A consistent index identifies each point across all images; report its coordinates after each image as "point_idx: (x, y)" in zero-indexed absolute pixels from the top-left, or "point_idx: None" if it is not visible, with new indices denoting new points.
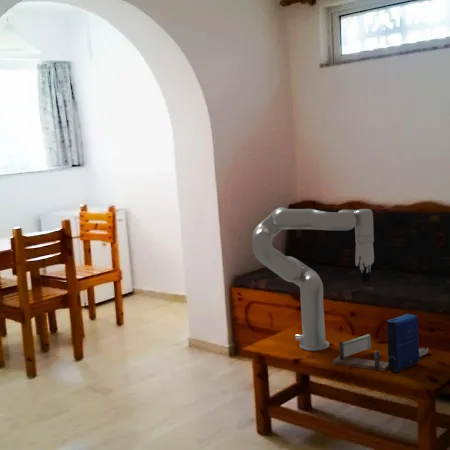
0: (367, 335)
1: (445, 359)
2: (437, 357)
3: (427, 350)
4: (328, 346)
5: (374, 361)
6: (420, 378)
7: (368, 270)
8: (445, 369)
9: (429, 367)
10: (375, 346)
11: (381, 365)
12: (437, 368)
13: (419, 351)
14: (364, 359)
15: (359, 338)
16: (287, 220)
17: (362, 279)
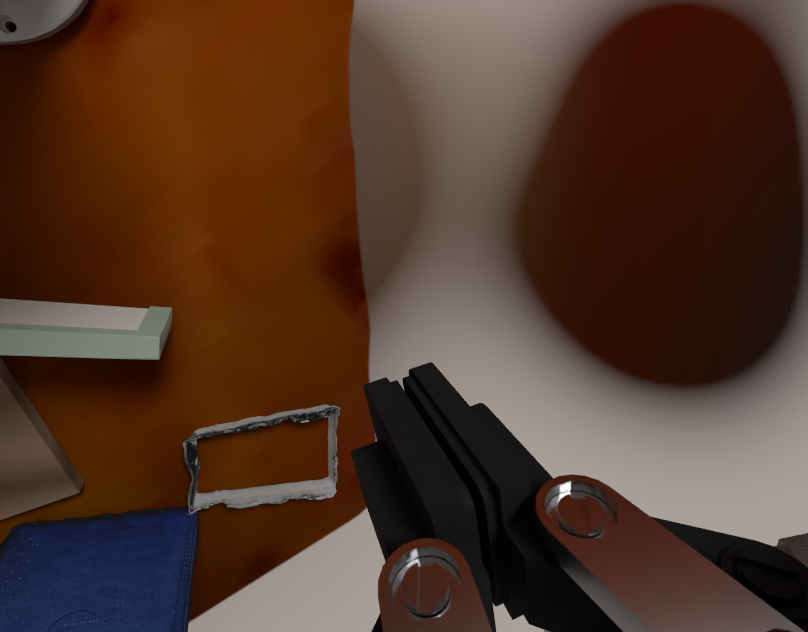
0: (135, 353)
1: (307, 547)
2: (309, 522)
3: (330, 487)
4: (32, 40)
5: (28, 441)
6: None
7: (552, 627)
8: (217, 604)
9: (194, 570)
10: (269, 279)
11: (10, 495)
12: (206, 588)
13: (328, 450)
14: (6, 391)
15: (40, 350)
16: None
17: (374, 410)
